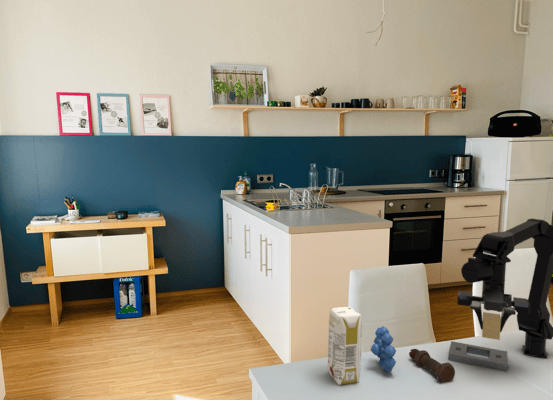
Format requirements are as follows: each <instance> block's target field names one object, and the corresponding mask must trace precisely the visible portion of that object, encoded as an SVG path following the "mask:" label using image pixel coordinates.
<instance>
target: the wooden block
mask: <svg viewBox="0 0 553 400" xmlns="http://www.w3.org/2000/svg"><path fill="white" fill-rule="evenodd" d="M482 321H483V329H481V336H482V338H485V339H490V340H491V339H492V340H498V341H500V339H501V332H500V326H501V314H500V313H494V312H493V313H491V312H486V311H483V312H482Z"/></svg>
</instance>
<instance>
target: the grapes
mask: <svg viewBox="0 0 553 400" xmlns="http://www.w3.org/2000/svg"><path fill="white" fill-rule="evenodd" d="M374 334H375V338H374V339H373V344H372V345H371V346H370V351H371V353H372V354H373V355H374V356H376V357H377V358H378V363H377V364H378V365H379V367H380V368H381V369H382V370H383V371H385V372H386V373H387V374H390V373H391V372H392V370H393V368H394V367H395V365H396V363H397V361H396V359H395V358H394V357H395V355H396V353H397V350H396V348H395V347H394V346H393V345H392V343H393V341H394V337H393V336H392V334H390V331H389V329H388V328H387V327H385V326H384V325H383V326H381V327H378V328H376V330H375V333H374Z"/></svg>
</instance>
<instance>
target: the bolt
mask: <svg viewBox="0 0 553 400" xmlns="http://www.w3.org/2000/svg"><path fill="white" fill-rule="evenodd" d="M408 355H409V356H408V357H409V358H411V359H412V360H414V362H415V364H416V366H418V367H420V368H426V369H427V370H429V371H431V373H432V372H433V374H435V376H436V378H437V380H438V382H440V383H441V384H447V383H450V382H452V381H453V380H454V378H455V375H456V371H455V368H454V366H453V364H452V363H450V362H448V361H447V362H443V363H441V362H439V360H436V359H435V358H432V357H431V356H430V354H429V352H428V351H427V350H424V349H423V350H421V349H420V350H419V349H418V348H411V349H410V351H409V352H408Z"/></svg>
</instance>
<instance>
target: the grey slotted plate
mask: <svg viewBox="0 0 553 400" xmlns="http://www.w3.org/2000/svg"><path fill="white" fill-rule="evenodd" d="M467 353H469V354H467ZM470 354H472V355H470ZM475 355H479V356H475ZM482 356H483V357H482ZM487 357H489V358H487ZM447 358H448V361H453V362H456V363H462V364H466V365H467V364H468V365H472V366H478V367H483V368H486V369H492V370H497V371H503V372H508V371H509V358H508V351H507V350H504V349H503V350H501V349H496V348H491V347H490V348H489V347H484V346H479V345H475V344H469V343H462V342H458V341H452V340H451V341H450V346H449V351H448V355H447Z"/></svg>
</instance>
